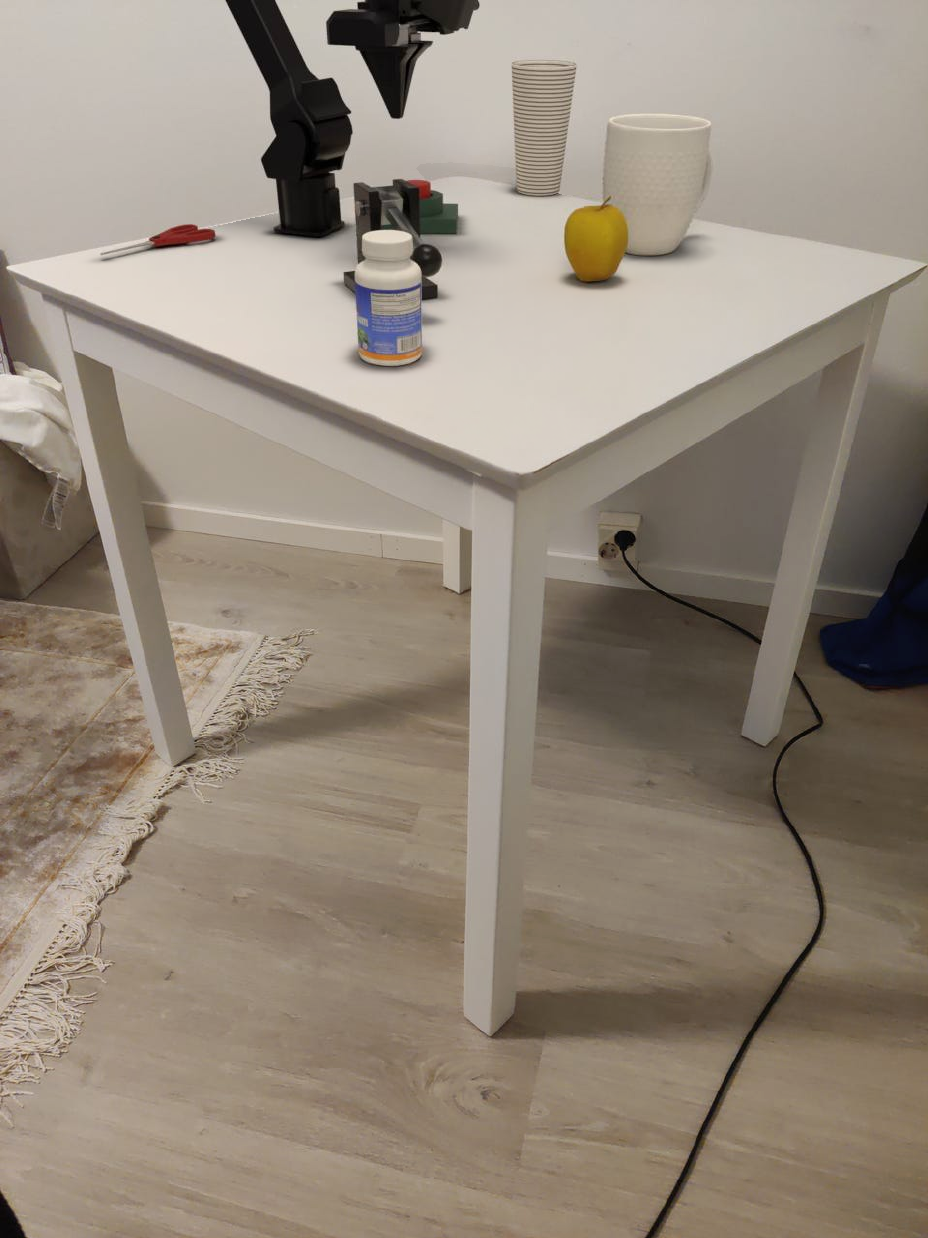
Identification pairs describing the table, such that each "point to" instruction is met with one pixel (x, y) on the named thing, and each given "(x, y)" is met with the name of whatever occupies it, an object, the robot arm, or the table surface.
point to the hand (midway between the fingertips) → (397, 118)
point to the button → (422, 187)
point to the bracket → (370, 221)
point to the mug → (656, 176)
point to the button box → (435, 215)
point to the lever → (407, 230)
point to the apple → (595, 241)
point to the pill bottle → (388, 299)
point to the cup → (541, 122)
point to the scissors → (174, 237)
